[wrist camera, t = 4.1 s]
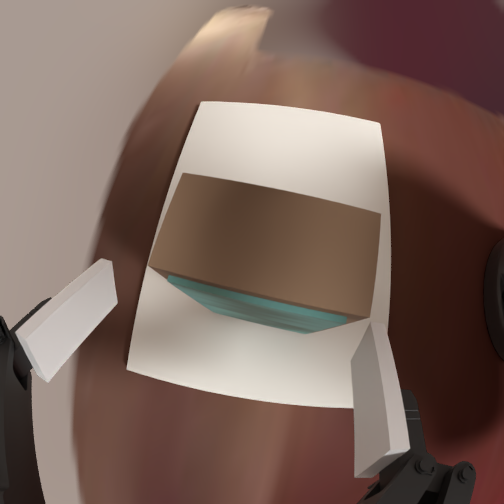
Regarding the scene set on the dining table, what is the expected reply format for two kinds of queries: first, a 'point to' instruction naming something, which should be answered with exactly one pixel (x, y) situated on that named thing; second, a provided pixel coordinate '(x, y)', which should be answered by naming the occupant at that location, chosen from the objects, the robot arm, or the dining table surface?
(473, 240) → the dining table surface
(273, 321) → the walnut plaque
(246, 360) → the cream white flat board
